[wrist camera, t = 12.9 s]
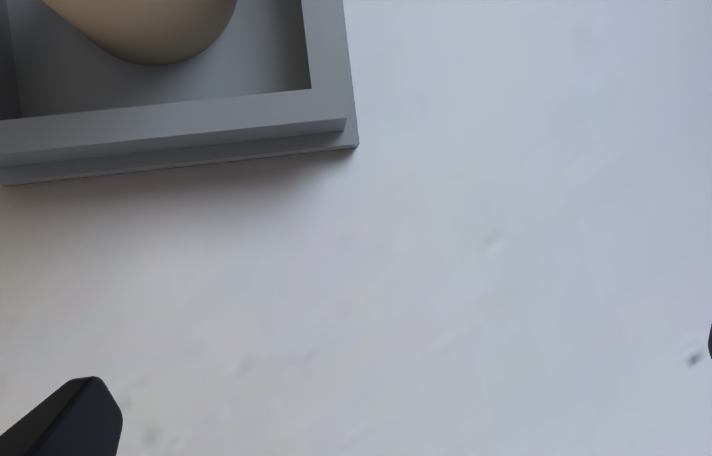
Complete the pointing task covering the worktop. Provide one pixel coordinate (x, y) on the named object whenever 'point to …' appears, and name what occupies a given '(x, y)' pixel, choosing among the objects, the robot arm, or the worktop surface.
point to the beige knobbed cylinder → (148, 26)
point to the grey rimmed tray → (172, 94)
